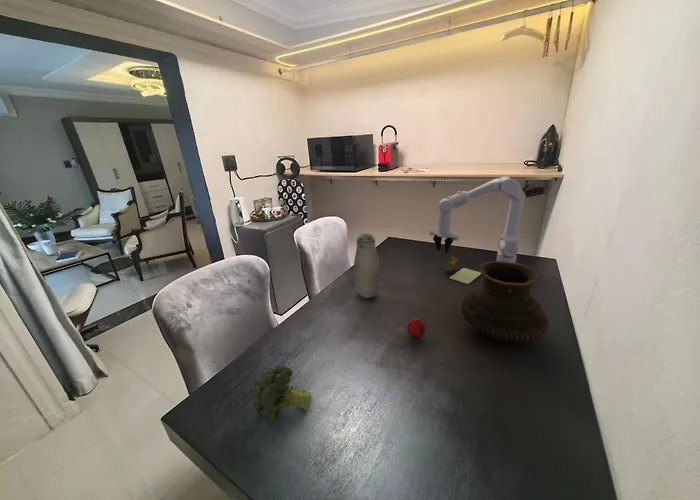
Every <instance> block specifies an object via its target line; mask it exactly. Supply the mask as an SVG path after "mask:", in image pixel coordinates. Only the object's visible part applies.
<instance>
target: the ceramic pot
mask: <svg viewBox="0 0 700 500" xmlns="http://www.w3.org/2000/svg"><path fill="white" fill-rule="evenodd" d="M479 272H480V273H481V275H482V276H483V284H482V285H481V286H479V287H477V288H475V289H474V290H473V291H471V292H468V293H467V294H466V295H465V296H464V297H463V299H462V301H461V304H460V309H461V314H462V315H463V317H464V320H465V321H466V322H467V323H468V324H469V325H471V326H472V327H473V328H474V329H475V330H477V331H478V332H479V333H481V334H482V335H484V336H487V337H489V338H491V339H493V340H497V341H500V342H507V343H522V342H523V343H524V342H530V341H534V340H539V339H540V338H543V337H544V336H545V334H546V333H547V332H548V330H549V327H550V324H549V323H550V322H549V318H548V316H547V314H546V312H545V311H544V310H543V308H542V305H541V303H540V302H539V301H538V300H537V299H536V298H535V297H534V296H533V295H532V294H531V289H532V286H533V284H536V283H538V282H539V281H540V275H539V274H538V272H537V271H536V270H535V269H533V268H532V267H530V266H527V265H524V264H521V263H518V262H516V263H511V262H504V261H496V260H491V261H487V262H483V263H482V264H481V265H480V266H479Z"/></svg>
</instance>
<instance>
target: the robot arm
mask: <svg viewBox="0 0 700 500" xmlns="http://www.w3.org/2000/svg"><path fill="white" fill-rule="evenodd" d="M490 192H492V193H500V192H501V193H502V194H504V195H506V196H507V197H508V198H509V204H508V207H507V208H508V209H507V214H506V219H505V224H504V229H503V233H502V234H501V236H500V238H499V240H497V247H498V251H497V254H496V260H495V261H504V262H511V263H517V255H518V253H519V249H518V237H517V235H518V231H519V225H520V223H521V216H522V212H523V207H524V203H525V198H526V194H525V193H524V191H523V189H522V187H521V183H520V182H519V181H517V180H516V179H514V178H511V177H510V176H508V175H502V176H500V177H498V178H493V179H492V180H490V181H487V182H486V183H484V184H481V185H479V186H477V187H475V188H473V189H471V190H469V191H466V190H459V191H457V193H455V194H453V195H451V196H450V195H448V196H447V198H442V199H441V200H439V202H438V209H439V211H438V214H437V215H438V216H437V217H438V219H437V230H434V229H433V230H429V233H428V234H429V236H432V240H433V242H434V244H435V247H436V251H437V252H439V251H441V249H442V241H444V253H445V254H447V253H449V250H450V248H451V246H452V244H453V242H454V241H456V242H457V241H459V240H460V235H457V234H455V233H451V227H452V211H453V209H456V208H459V207H462V206H464V205H466V204H469V202H470V201H471V200H472V199H473V198H476V197H479V196H482V195H484V194H486V193H490ZM443 238H444V240H443Z"/></svg>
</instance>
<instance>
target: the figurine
mask: <svg viewBox="0 0 700 500" xmlns="http://www.w3.org/2000/svg"><path fill="white" fill-rule="evenodd" d="M458 261H459V258H458V257H457V258H456V257H455V256H454V255H452V256H451V258H450V260H448V262H446V264H445V269H444V270H447V272H446V273H447V274H449V275H452V273H455V270H456V267H457V264H456V263H457V262H458Z"/></svg>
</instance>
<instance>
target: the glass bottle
mask: <svg viewBox="0 0 700 500" xmlns="http://www.w3.org/2000/svg"><path fill="white" fill-rule="evenodd" d="M380 265H381V264H380V259H379V256H378V252H377V247H376V238H375V236H374V235H373V234H372V233H362V234H360V235H359V236H358V237H357V238H356V248H355V255H354V259H353V269H354V281H355V289H356V292H357V295H359V296H360V297H361V298H363V299H372V298H374V297H376V296H377V295H378V293H379V291H380V287H381V277H380V272H381V271H380V269H381V268H380V267H381V266H380Z"/></svg>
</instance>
